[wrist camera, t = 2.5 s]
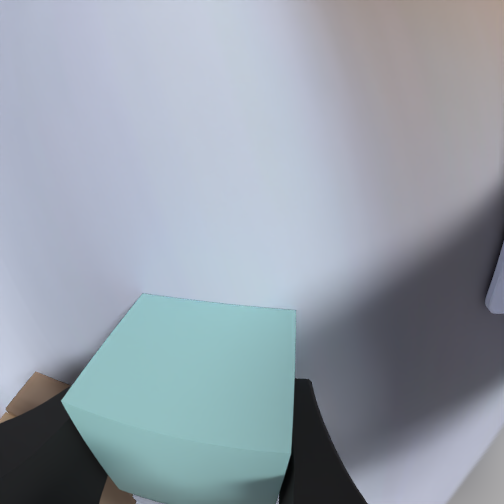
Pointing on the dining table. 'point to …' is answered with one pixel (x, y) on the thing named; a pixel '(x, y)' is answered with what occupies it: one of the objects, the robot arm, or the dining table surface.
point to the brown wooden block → (35, 394)
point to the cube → (191, 401)
